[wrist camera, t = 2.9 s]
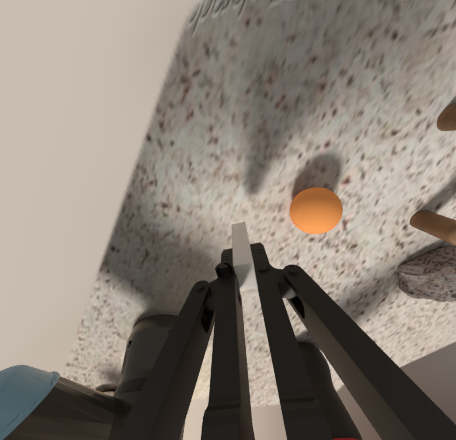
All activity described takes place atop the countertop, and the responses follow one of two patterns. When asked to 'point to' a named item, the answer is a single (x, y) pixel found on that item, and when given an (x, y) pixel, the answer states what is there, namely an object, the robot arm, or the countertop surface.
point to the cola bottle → (328, 394)
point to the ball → (316, 210)
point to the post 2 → (447, 119)
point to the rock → (430, 275)
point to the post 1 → (435, 225)
